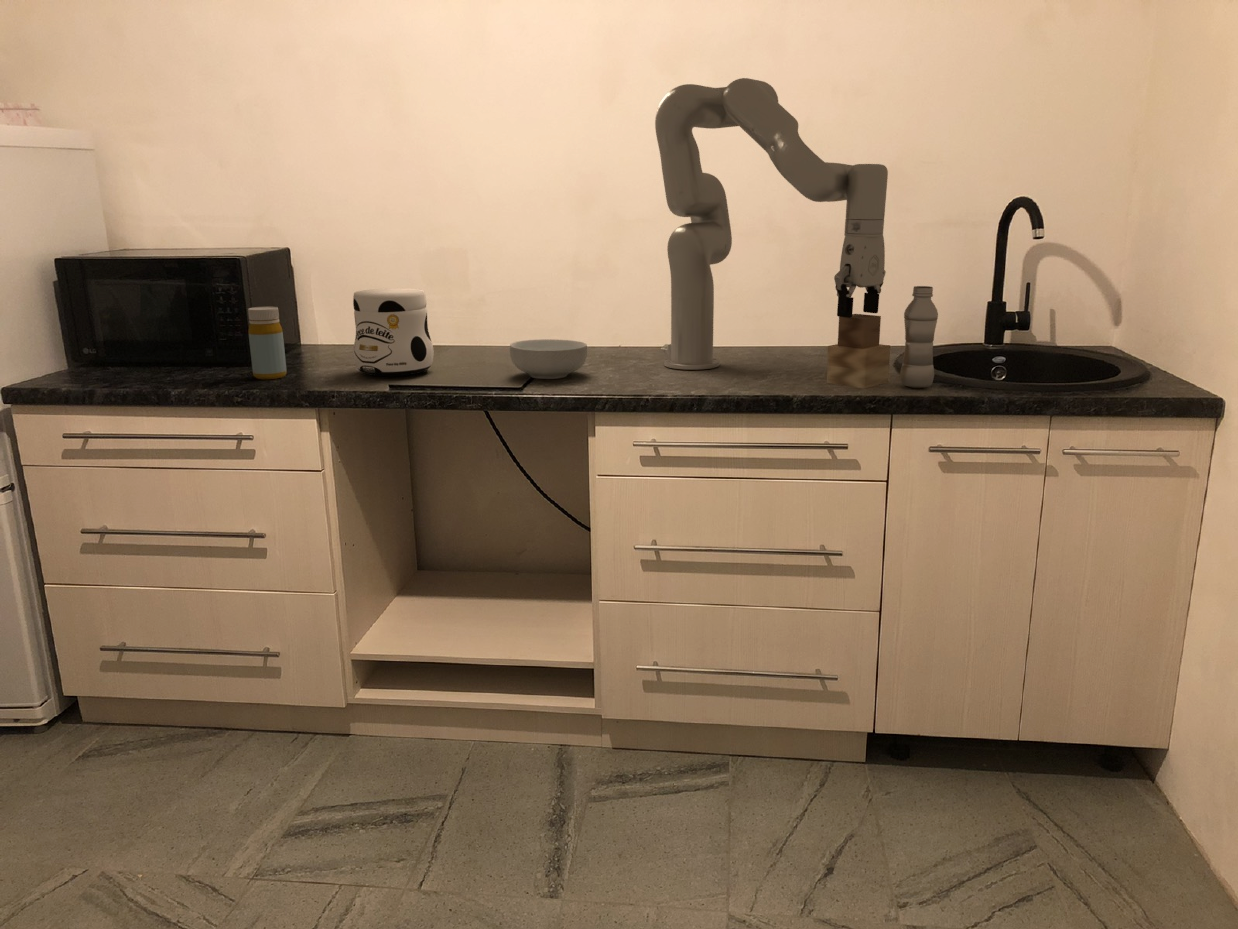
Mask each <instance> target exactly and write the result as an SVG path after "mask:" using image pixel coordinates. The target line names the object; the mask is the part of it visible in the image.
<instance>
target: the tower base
mask: <svg viewBox="0 0 1238 929" xmlns="http://www.w3.org/2000/svg"><path fill="white" fill-rule="evenodd" d="M826 370H827V372H826V383H828V384H835V385H838V386H839V385H840V386H846V387H853V388H860V389H868V388H871V387H872V388H873V387H875V386H879V384H880V385H883V384H887V383H889V379H890V364H889V365H886V366H882V367H878V368H873V369H869V370H859V369H851V368H844V367H837V366H830V365H827V369H826Z"/></svg>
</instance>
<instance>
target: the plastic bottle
mask: <svg viewBox="0 0 1238 929" xmlns="http://www.w3.org/2000/svg"><path fill="white" fill-rule="evenodd" d="M933 290H934V288H933V286H928V285H917V286H913V290H912V295H911V296H912V297H913V299H912V300H911V302H910V303H909V304H908V305H907V306H906V308H905V310H904V314H903V318H904V330H905V331H904V333H905V335H904V339H905V342H904V354H903V360H902V365H901V367H900V373H899V375H900V376H899V378H900V382H901V383H902V385H903V386H905V387H908V388H909V387H910V388H912V389H921V388H928V387H931V385H932V384H933V382H934V377H935V368H934V367H935V366H934V353H933V352H934V351H933V350H934V347H933V346H934V339H935V332H936V328H937V323H938V317H939V312H938V309H937V307H936V305H935V303H934V302H933V300H932V298H933V296H934V294H933V293H934V292H933Z"/></svg>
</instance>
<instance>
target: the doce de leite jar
mask: <svg viewBox="0 0 1238 929" xmlns="http://www.w3.org/2000/svg"><path fill="white" fill-rule="evenodd" d="M352 296H353V298H352V299H353V300H352V303H353V304H352V305H353V309H354V313H353V314H354V323H355V324H354V325H355V337H354V338H355V339H354V342H353V343H354V344H353V349H352V350H353V351H352V354H353V360H354V365H355V367H356V369H357V370H359V371H360V372H361V373H363V374H366V375H371V376H378V377H398V376H399V377H400V376H408V375H416V374H419V373H421V372H424V371H427V370H428V369H429V368H431V366H432V365H433V362H434V353H435V352H434V345H433V342H432V338H431V336H430V332H429V325H428V309H427V298H426V293H425V290H424V289H420V288H419V289H418V288H403V287H402V288H398V287H397V288H375V289H366V290H358V291H355V292H353V295H352Z"/></svg>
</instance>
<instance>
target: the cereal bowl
mask: <svg viewBox="0 0 1238 929" xmlns="http://www.w3.org/2000/svg"><path fill="white" fill-rule="evenodd" d="M509 354H510V355H509V356H510V359H511V362H512V363H513V365H514V366H515V367H516V368H517V369H518V370H520V371H521V372H523V373H526V374H528V375H529V376H530V377H531V378H533V379H539V380H555V379H562V378H566V377H567V376H568V375H569V374H572V373H574V372H575V371H578V370H579V369H581V367H583V366H584V364H585V362H586V360H587V357H588V356H587V355H588V344H587V343H585V342H584V341H580V340H572V339H571V340H570V339H549V338H548V339H528V340H519V341H515V342H512V343H510V345H509Z"/></svg>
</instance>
